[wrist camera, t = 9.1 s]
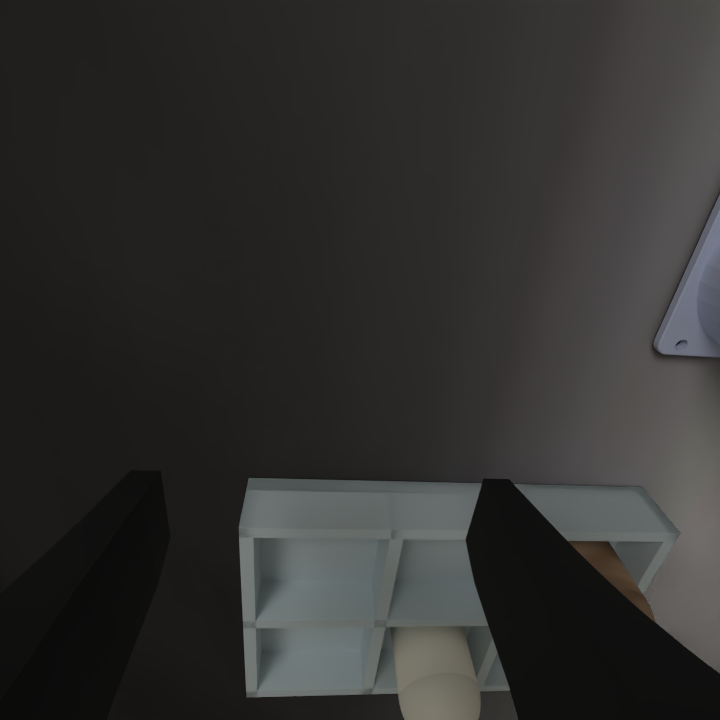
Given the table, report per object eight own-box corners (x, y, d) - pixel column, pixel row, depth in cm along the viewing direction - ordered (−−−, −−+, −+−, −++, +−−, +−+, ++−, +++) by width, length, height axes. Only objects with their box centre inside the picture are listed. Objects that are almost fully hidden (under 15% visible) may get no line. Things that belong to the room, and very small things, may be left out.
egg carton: (642, 486, 24) (680, 533, 22) (562, 639, 31) (584, 688, 28) (248, 478, 22) (238, 528, 20) (253, 643, 29) (246, 697, 26)
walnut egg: (613, 518, 24) (695, 635, 19) (587, 570, 26) (654, 689, 21) (537, 517, 24) (598, 636, 19) (516, 570, 26) (566, 691, 21)
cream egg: (443, 588, 26) (472, 712, 21) (470, 625, 28) (503, 747, 23) (377, 614, 27) (389, 739, 22) (407, 648, 29) (426, 771, 24)
